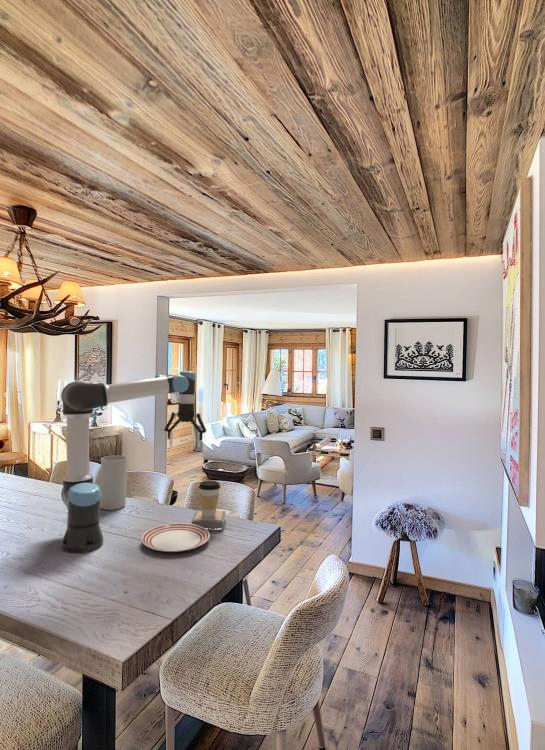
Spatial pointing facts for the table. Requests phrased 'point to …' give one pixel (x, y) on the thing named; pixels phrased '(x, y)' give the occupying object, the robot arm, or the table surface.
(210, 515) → the coffee cup
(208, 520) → the trivet base
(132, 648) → the table surface
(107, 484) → the cylinder vase
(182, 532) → the dinner plate
